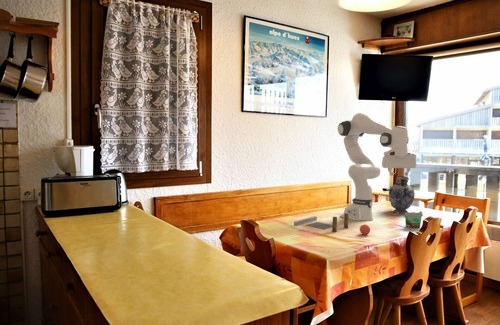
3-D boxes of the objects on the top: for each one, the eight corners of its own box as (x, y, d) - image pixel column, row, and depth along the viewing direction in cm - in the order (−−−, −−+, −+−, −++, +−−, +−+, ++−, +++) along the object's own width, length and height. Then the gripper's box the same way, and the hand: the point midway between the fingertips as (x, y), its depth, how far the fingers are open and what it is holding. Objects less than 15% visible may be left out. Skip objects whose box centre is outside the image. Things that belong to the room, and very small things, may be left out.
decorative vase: (392, 208, 307) (395, 174, 304) (416, 212, 295) (419, 176, 293) (383, 212, 290) (385, 176, 288) (408, 216, 279) (410, 178, 276)
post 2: (343, 227, 237) (343, 213, 237) (345, 227, 239) (345, 213, 239) (346, 228, 236) (347, 214, 235) (348, 227, 238) (349, 213, 237)
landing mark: (305, 225, 241) (305, 225, 241) (317, 222, 251) (317, 221, 251) (324, 229, 232) (324, 229, 232) (335, 225, 242) (335, 225, 242)
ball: (357, 234, 221) (358, 224, 221) (362, 232, 226) (362, 222, 225) (367, 236, 217) (367, 226, 217) (371, 234, 222) (372, 224, 221)
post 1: (331, 231, 227) (331, 216, 226) (333, 230, 229) (334, 216, 228) (335, 232, 225) (335, 217, 224) (337, 231, 227) (337, 217, 226)
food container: (410, 229, 237) (410, 213, 236) (403, 227, 243) (404, 211, 242) (426, 228, 240) (427, 213, 240) (419, 226, 246) (420, 211, 246)
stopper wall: (293, 225, 241) (294, 221, 241) (314, 219, 259) (314, 216, 259) (296, 225, 240) (296, 222, 239) (316, 220, 257) (316, 216, 257)
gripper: (413, 152, 231) (412, 175, 232) (381, 152, 230) (380, 175, 230) (418, 153, 225) (418, 176, 225) (385, 152, 223) (384, 175, 224)
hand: (398, 175), depth 228 cm, fingers open, 8 cm apart
